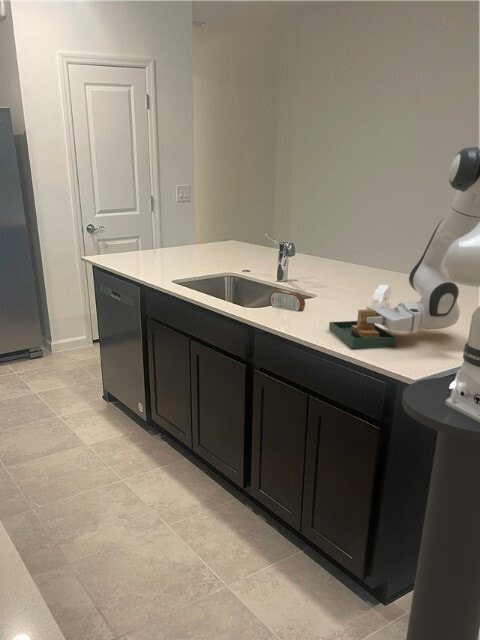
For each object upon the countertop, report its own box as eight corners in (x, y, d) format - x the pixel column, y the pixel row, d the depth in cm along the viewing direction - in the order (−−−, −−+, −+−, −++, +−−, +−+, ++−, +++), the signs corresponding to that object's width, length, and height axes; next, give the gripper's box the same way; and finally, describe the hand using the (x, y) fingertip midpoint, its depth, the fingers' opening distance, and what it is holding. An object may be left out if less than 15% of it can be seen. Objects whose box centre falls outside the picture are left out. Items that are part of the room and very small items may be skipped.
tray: (395, 346, 168) (396, 337, 167) (352, 348, 167) (353, 339, 166) (367, 328, 189) (368, 320, 188) (328, 330, 187) (329, 322, 186)
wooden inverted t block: (378, 342, 170) (381, 313, 167) (363, 342, 170) (365, 314, 166) (365, 333, 179) (368, 306, 176) (351, 334, 179) (353, 307, 176)
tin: (304, 314, 210) (306, 292, 207) (300, 316, 208) (301, 294, 205) (272, 308, 220) (273, 287, 217) (268, 309, 218) (268, 289, 214)
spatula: (352, 335, 188) (364, 336, 186) (353, 313, 185) (365, 314, 183) (379, 301, 217) (389, 302, 215) (381, 281, 213) (391, 282, 211)
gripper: (392, 300, 182) (352, 301, 181) (422, 314, 163) (377, 315, 162) (390, 318, 184) (350, 320, 183) (420, 334, 165) (375, 336, 164)
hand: (363, 318), depth 172 cm, fingers closed on wooden inverted t block, 2 cm apart
